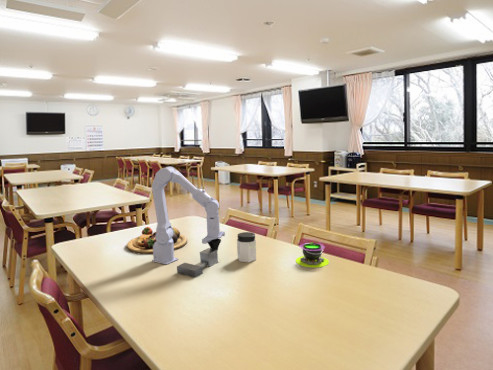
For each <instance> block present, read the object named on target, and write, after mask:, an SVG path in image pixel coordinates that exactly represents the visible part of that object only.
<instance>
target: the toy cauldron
mask: <svg viewBox="0 0 493 370" xmlns="http://www.w3.org/2000/svg"><path fill="white" fill-rule="evenodd" d="M308 240H310V237H307V239H305V240H303V242H304V243H302V244H300V245H299V246H298V247H299V248H300V249H301V250H302V256H299V257H297V258H296V259H295V263H296V264H297V265H298V266H302V267H305V268H306V267H307V268H313V269H314V268H315V269H316V268H323V267H326V266H328V265H329V264H330V261H329V259H328V258H326V257H323V256H322V254H323V251H324V249H325V248H326V247H325V245H324V244H322V243H321V240H320V239H318V241H319V242H318V243H316V242H313V241H311V242H305V241H308ZM311 240H316V241H317V238H316V239H315V238H313V239H312V238H311Z"/></svg>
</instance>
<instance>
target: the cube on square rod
mask: <svg viewBox="0 0 493 370" xmlns="http://www.w3.org/2000/svg"><path fill="white" fill-rule="evenodd" d="M218 258H219V256H218V251H217V250H216V249H211V248H210V247H208V248H205V249H204V250H201V251H200V252H199V259H200V262H202V261H204V260H205V261H208V266H207V267H208V268H209V267H212V266H214V265H215V264H218V263H219V259H218ZM200 262H199V263H200Z"/></svg>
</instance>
